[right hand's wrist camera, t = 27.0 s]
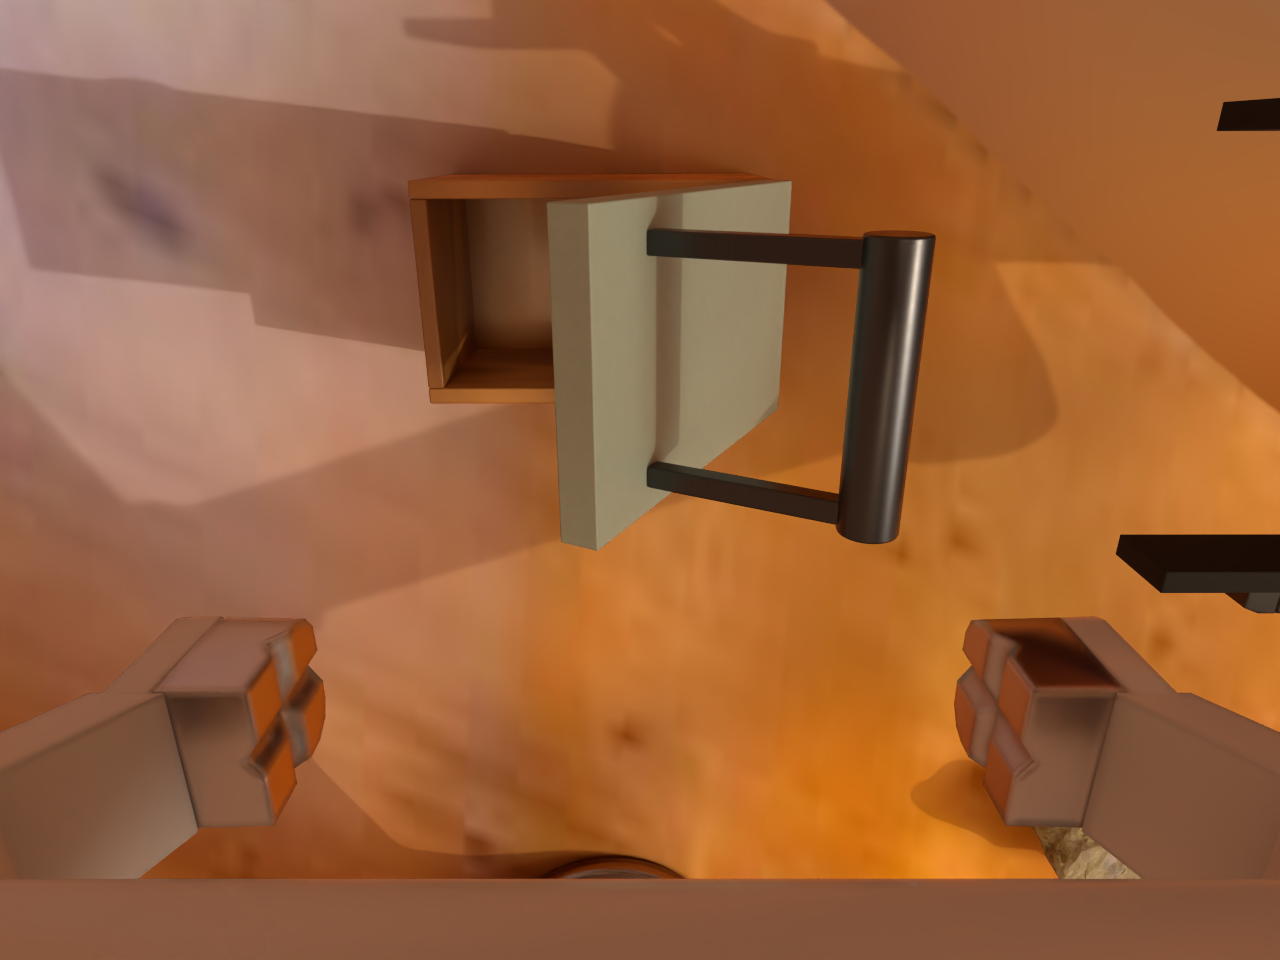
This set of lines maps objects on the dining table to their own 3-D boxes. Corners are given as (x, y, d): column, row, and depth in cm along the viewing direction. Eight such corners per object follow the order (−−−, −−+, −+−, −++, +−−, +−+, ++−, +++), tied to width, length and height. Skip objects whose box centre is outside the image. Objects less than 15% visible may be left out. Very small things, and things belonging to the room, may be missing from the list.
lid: (560, 542, 24) (865, 616, 20) (545, 201, 21) (910, 213, 17) (751, 405, 37) (961, 435, 33) (762, 180, 33) (998, 183, 29)
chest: (466, 358, 45) (429, 403, 37) (451, 174, 42) (406, 180, 34) (741, 357, 45) (762, 402, 37) (749, 173, 42) (774, 179, 34)
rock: (1147, 855, 60) (1183, 762, 55) (1197, 944, 54) (1242, 848, 49) (995, 862, 60) (1017, 769, 55) (1030, 949, 55) (1057, 856, 50)
